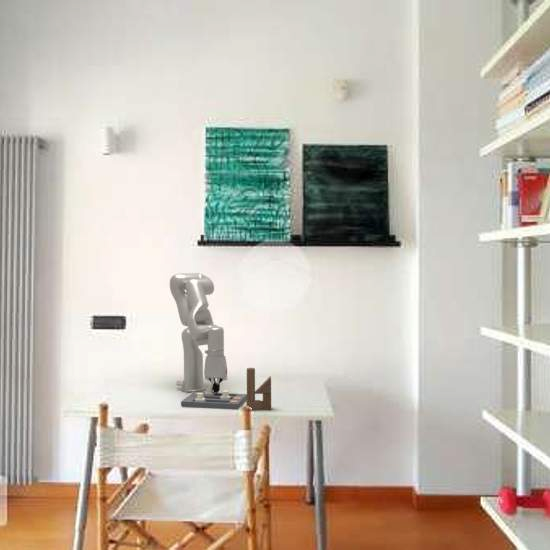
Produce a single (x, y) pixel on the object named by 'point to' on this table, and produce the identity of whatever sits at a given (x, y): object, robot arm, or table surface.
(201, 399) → the tab near
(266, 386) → the brown notched upright part
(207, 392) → the tab far
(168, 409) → the table surface
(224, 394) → the tab mid
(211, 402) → the switch board
